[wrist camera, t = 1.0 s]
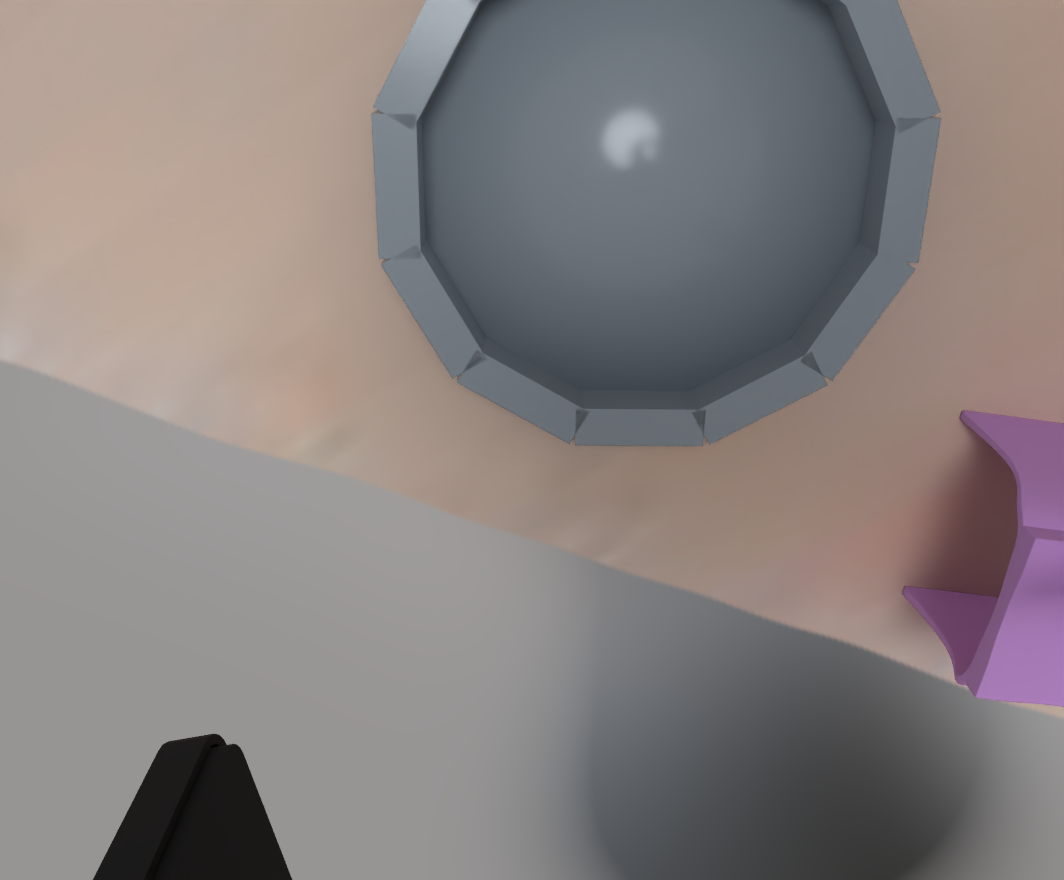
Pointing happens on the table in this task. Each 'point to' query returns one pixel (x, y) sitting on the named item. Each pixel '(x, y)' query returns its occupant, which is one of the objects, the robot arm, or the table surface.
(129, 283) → the table surface
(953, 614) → the toy chair
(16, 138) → the table surface
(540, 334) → the round tray
